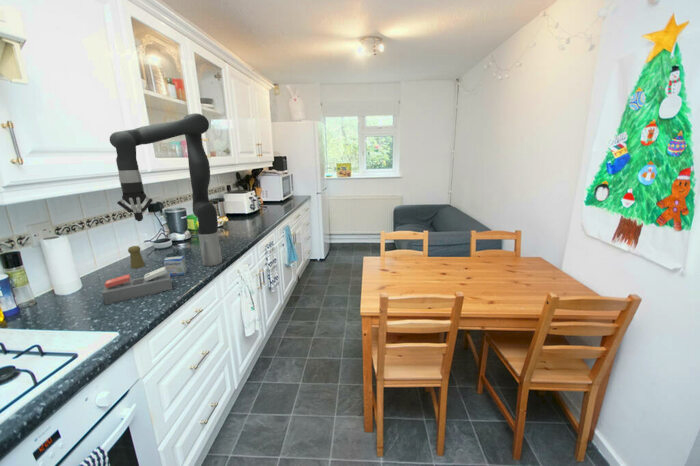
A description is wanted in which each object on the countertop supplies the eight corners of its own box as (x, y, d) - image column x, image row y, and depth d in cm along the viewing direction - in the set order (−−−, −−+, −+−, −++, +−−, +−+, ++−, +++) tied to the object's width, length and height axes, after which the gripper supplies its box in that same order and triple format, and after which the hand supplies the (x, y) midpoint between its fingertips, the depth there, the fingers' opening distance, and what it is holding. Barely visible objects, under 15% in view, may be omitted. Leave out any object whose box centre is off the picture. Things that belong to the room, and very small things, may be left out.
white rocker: (166, 269, 130) (164, 266, 130) (166, 272, 127) (164, 269, 126) (146, 277, 127) (144, 274, 126) (146, 281, 123) (144, 278, 123)
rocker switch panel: (171, 282, 135) (169, 270, 133) (172, 289, 127) (169, 277, 126) (108, 295, 123) (105, 282, 121) (105, 304, 116) (101, 290, 114)
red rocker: (130, 277, 124) (129, 273, 123) (129, 280, 120) (128, 277, 120) (107, 284, 120) (106, 280, 119) (106, 288, 116) (104, 284, 116)
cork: (137, 268, 150) (133, 248, 147) (128, 268, 152) (123, 248, 148) (147, 264, 156) (143, 245, 153) (138, 263, 157) (134, 244, 154)
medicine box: (166, 276, 141) (163, 260, 138) (169, 273, 145) (166, 256, 142) (184, 274, 143) (181, 258, 140) (186, 271, 147) (184, 255, 144)
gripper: (150, 179, 130) (157, 217, 135) (112, 181, 123) (121, 221, 128) (149, 180, 124) (157, 220, 128) (110, 183, 117) (119, 224, 122)
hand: (139, 220), depth 128 cm, fingers closed
